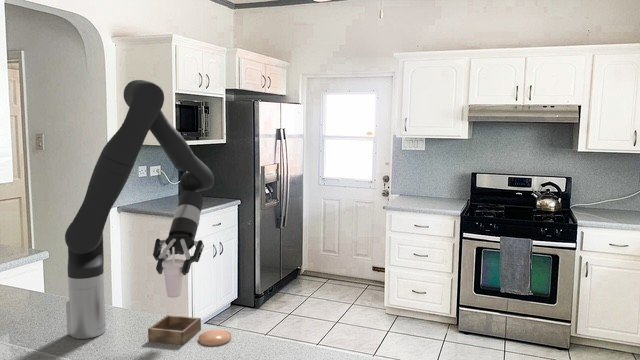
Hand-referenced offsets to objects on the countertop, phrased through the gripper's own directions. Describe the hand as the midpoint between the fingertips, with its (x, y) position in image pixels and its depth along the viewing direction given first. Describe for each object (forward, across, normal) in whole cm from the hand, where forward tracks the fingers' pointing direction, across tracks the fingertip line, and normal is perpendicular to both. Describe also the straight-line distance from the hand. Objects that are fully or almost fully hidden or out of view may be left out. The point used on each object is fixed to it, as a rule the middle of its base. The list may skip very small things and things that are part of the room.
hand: (171, 273), depth 139 cm
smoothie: (+4, 0, +6) cm, 7 cm away
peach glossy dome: (+13, +12, +13) cm, 22 cm away
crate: (+12, 0, +14) cm, 19 cm away
